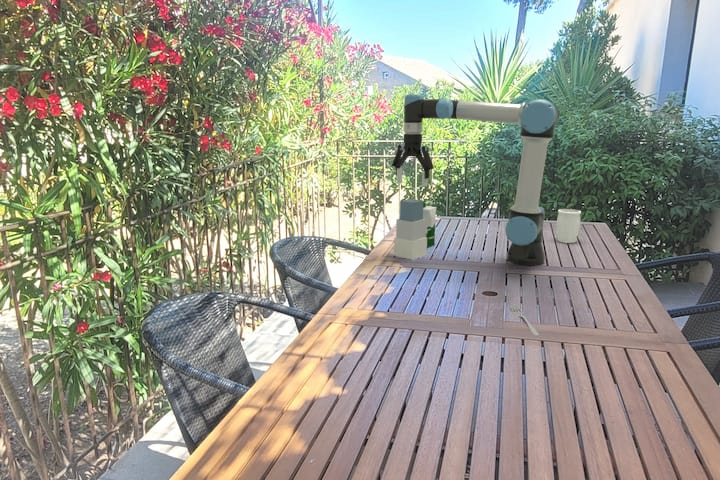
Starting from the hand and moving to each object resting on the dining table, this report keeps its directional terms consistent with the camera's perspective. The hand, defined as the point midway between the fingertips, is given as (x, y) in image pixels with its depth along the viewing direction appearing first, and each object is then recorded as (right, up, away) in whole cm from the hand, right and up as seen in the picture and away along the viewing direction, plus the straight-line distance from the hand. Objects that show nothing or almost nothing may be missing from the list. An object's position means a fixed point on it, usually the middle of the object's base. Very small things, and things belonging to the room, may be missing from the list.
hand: (411, 185), depth 215 cm
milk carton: (+8, -26, +24) cm, 36 cm away
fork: (+27, -48, -64) cm, 85 cm away
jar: (+77, -24, +31) cm, 87 cm away
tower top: (0, -22, +5) cm, 23 cm away
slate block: (0, -14, +4) cm, 15 cm away
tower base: (0, -30, +7) cm, 31 cm away
